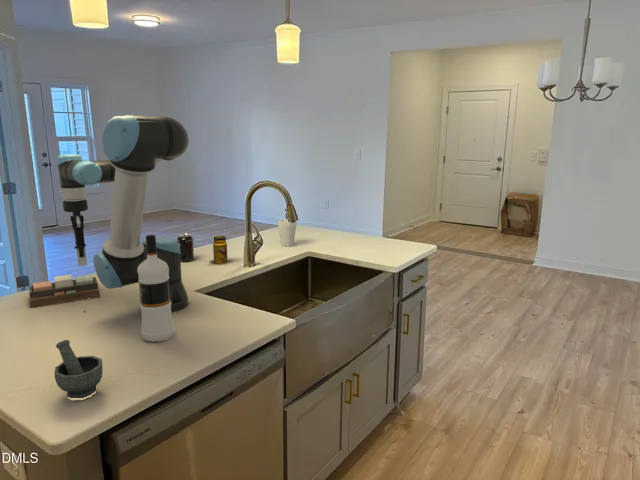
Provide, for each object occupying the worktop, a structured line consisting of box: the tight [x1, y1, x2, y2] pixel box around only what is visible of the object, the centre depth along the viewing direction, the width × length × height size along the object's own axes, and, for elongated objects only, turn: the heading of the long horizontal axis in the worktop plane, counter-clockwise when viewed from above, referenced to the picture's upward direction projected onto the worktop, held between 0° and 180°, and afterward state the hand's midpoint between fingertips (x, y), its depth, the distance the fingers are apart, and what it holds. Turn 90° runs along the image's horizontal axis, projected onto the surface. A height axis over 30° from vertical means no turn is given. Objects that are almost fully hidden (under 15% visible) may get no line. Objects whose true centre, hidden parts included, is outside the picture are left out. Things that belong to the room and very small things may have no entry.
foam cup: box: [277, 218, 297, 248], centre depth 241 cm, size 10×9×13 cm
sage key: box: [74, 275, 94, 286], centre depth 170 cm, size 6×6×3 cm
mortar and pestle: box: [54, 339, 104, 398], centre depth 105 cm, size 11×9×12 cm
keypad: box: [28, 276, 101, 309], centre depth 167 cm, size 13×21×4 cm, turn 120°
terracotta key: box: [32, 280, 53, 292], centre depth 163 cm, size 6×6×3 cm
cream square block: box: [53, 274, 74, 289], centre depth 166 cm, size 6×6×3 cm
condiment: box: [208, 235, 229, 266], centre depth 209 cm, size 7×8×12 cm
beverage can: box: [176, 233, 195, 263], centre depth 212 cm, size 7×7×12 cm
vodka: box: [137, 234, 176, 343], centre depth 133 cm, size 9×9×30 cm
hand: (82, 265), depth 168 cm, fingers closed
